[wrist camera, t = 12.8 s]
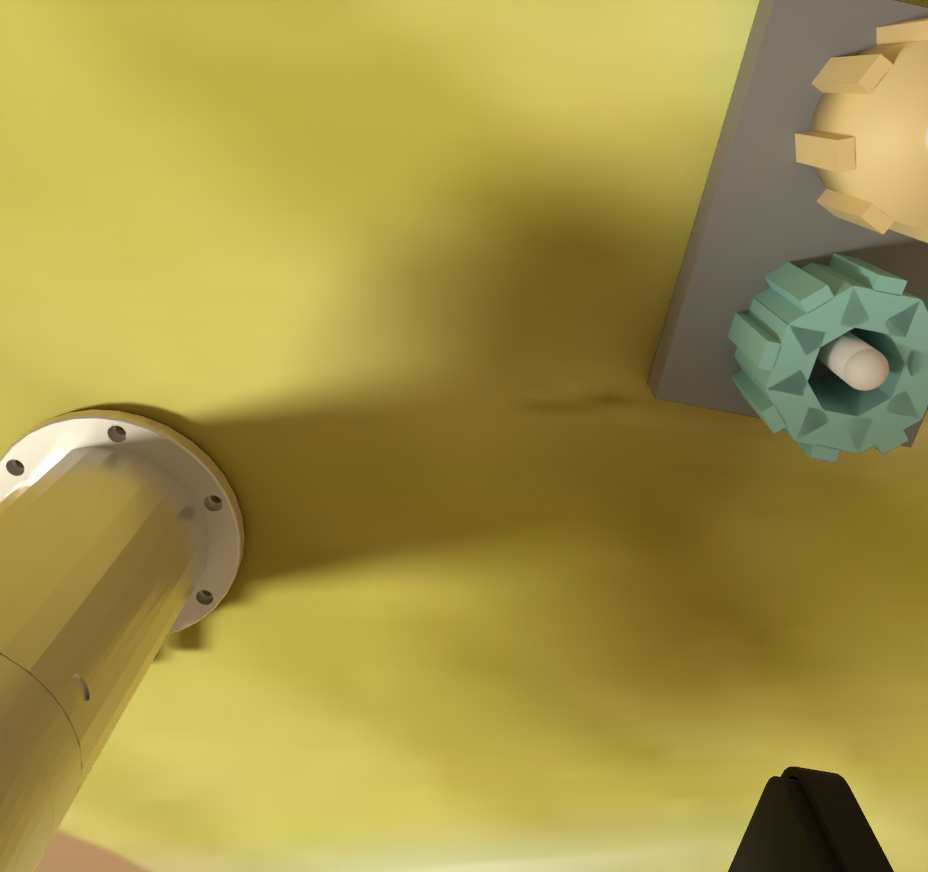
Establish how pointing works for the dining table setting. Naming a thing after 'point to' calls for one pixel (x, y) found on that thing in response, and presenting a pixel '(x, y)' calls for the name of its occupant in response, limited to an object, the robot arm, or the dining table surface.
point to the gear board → (805, 185)
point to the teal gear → (817, 323)
